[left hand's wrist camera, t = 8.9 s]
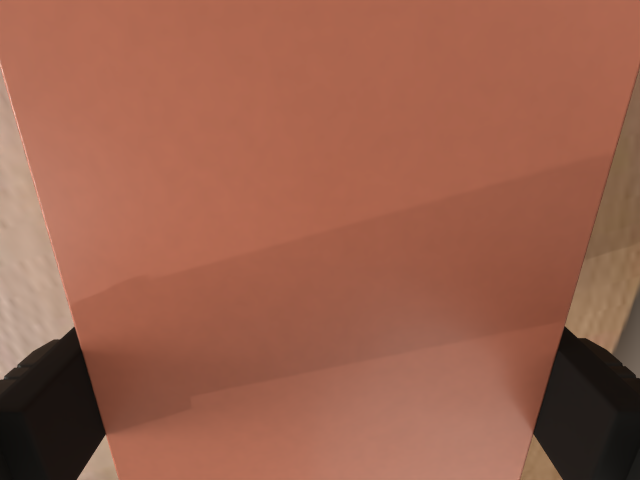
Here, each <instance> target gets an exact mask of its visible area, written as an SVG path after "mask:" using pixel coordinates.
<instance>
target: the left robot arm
mask: <svg viewBox="0 0 640 480" xmlns="http://www.w3.org/2000/svg"><path fill="white" fill-rule="evenodd" d="M533 434H534V435H535V437H536V438H537V440H538V442H539V443H540V445H541V446H542V448H543V449H544V451H545V452H546V454H547V456H548V457H549V459H550V460H551V462H552V463H553V465H554V466H555V468H556V470H557V471H558V473H559V474H560V476H561V477H562V479H563V480H640V378H636V375H635V374H634V373H633V372H631V371H630V370H629V369H628V368H627V367H626V366H623V365H622V363H621V362H620V361H619V360H618V359H616V358H615V357H614V356H613V355H612V354H611V353H610V352H608V351H607V350H606V349H604V348H602V347H601V346H599V345H597V344H595V343H593V342H592V341H590V340H588V339H586V338H577V337H576V336H575V335H574V334H573V333H572V332H570V331H569V330H568V329H567V328H566V327H565V326H564V330H563V333H562V337H561V340H560V343H559V347H558V350H557V354H556V357H555V361H554V364H553V368H552V371H551V374H550V378H549V381H548V385H547V388H546V392H545V395H544V399H543V402H542V405H541V409H540V412H539V416H538V419H537V423H536V426H535V430H534V433H533ZM105 435H106V433H105V430H104V426H103V423H102V419H101V416H100V412H99V409H98V405H97V402H96V398H95V395H94V391H93V388H92V384H91V381H90V377H89V374H88V370H87V367H86V363H85V360H84V357H83V353H82V350H81V346H80V343H79V339H78V336H77V332H76V329H75V327H73V328H72V329H71V330H70V331H69V332H68V333H67V334H66V335H65V336H64V337H63V338H61V339H60V340H52V341H51V342H49V343H47V344H45V345H43V346H42V347H40V348H38V349H36V350H35V351H33V352H32V353H31V354H30V355H28V356H27V357H26V358H25V359H24V360H23V361H22V362H20V363H19V364H18V366H17V368H14V369H12V370H11V371H10V372H9V373H8V374H7V375H5V376H4V379H3V380H0V480H77V478H78V477H79V475H80V474H81V472H82V470H83V469H84V467H85V466H86V464H87V463H88V461H89V460H90V458H91V456H92V455H93V453H94V452H95V450H96V449H97V447H98V446H99V444H100V442H101V441H102V439H103V438H104V436H105Z"/></svg>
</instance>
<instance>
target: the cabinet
mask: <svg viewBox="0 0 640 480" xmlns="http://www.w3.org/2000/svg"><path fill="white" fill-rule="evenodd" d="M0 67H1V71H2V74H3V78H4V81H5V85H6V88H7V92H8V95H9V99H10V102H11V106H12V109H13V113H14V116H15V120H16V123H17V127H18V130H19V134H20V137H21V141H22V144H23V148H24V151H25V155H26V158H27V161H28V165H29V168H30V172H31V175H32V179H33V182H34V186H35V189H36V193H37V196H38V200H39V203H40V207H41V210H42V214H43V217H44V221H45V224H46V228H47V231H48V235H49V238H50V242H51V245H52V249H53V252H54V256H55V259H56V262H57V266H58V269H59V273H60V276H61V280H62V283H63V287H64V290H65V294H66V297H67V301H68V304H69V308H70V311H71V315H72V318H73V322H74V325H75V329H76V332H77V336H78V339H79V343H80V346H81V350H82V353H83V357H84V360H85V363H86V367H87V370H88V374H89V377H90V381H91V384H92V388H93V391H94V395H95V398H96V402H97V405H98V409H99V412H100V416H101V419H102V423H103V426H104V430H105V433H106V437H107V440H108V444H109V447H110V451H111V454H112V458H113V461H114V464H115V468H116V471H117V475H118V478H119V480H520V478H521V474H522V471H523V467H524V464H525V461H526V457H527V454H528V450H529V447H530V443H531V440H532V436H533V433H534V430H535V426H536V423H537V419H538V416H539V412H540V409H541V405H542V402H543V399H544V395H545V392H546V388H547V385H548V381H549V378H550V374H551V371H552V368H553V364H554V361H555V357H556V354H557V350H558V347H559V343H560V340H561V337H562V333H563V330H564V326H565V323H566V319H567V316H568V312H569V309H570V306H571V302H572V299H573V295H574V292H575V288H576V285H577V281H578V278H579V275H580V271H581V268H582V264H583V261H584V257H585V254H586V250H587V247H588V244H589V240H590V237H591V233H592V230H593V226H594V223H595V219H596V216H597V213H598V209H599V206H600V202H601V199H602V195H603V192H604V188H605V185H606V182H607V178H608V175H609V171H610V168H611V164H612V161H613V157H614V154H615V151H616V147H617V144H618V140H619V137H620V133H621V130H622V126H623V123H624V120H625V116H626V113H627V109H628V106H629V102H630V99H631V95H632V92H633V89H634V85H635V82H636V78H637V75H638V71H639V68H640V0H0Z"/></svg>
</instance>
